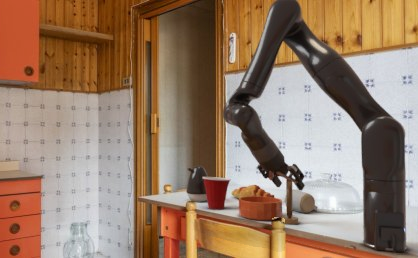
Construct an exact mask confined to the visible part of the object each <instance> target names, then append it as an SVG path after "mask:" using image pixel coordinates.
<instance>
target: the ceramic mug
mask: <svg viewBox="0 0 418 258" xmlns="http://www.w3.org/2000/svg"><path fill="white" fill-rule="evenodd" d="M284 204H285V207H287V200H286V195H285V197H284ZM292 204H293V211H294V212H299V213H303V214H309V213H311V212H312V211H314V212H317V210H318V206H317V205H316V200H315V197H314V196H313V195H312V194H310V193H308V192H304V191H301V190H299V189H293V188H292Z"/></svg>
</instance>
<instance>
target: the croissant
mask: <svg viewBox="0 0 418 258" xmlns="http://www.w3.org/2000/svg"><path fill="white" fill-rule="evenodd" d="M231 196H233V197H234V198H236V199H238V200H239V198H241V197H247V196H264V197H273V198H275V195H274V194H271V193H270V192H268V191H266V190H265V189H263V188H261V187H260V186H259V185H257V184H251V185H250V184H249V185H248V186H241V187H239V188H235V189H234V190H233V191H231Z"/></svg>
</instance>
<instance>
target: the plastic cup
mask: <svg viewBox="0 0 418 258" xmlns="http://www.w3.org/2000/svg"><path fill="white" fill-rule="evenodd" d="M203 180H204V185H205V190H206V196H207V200H206V201H207V206H208V209H210V210H223V209H224V208H225V203H226V198H227V192H228V187H229V184H230V181H231V178H226V177H217V176H208V177H203Z"/></svg>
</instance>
